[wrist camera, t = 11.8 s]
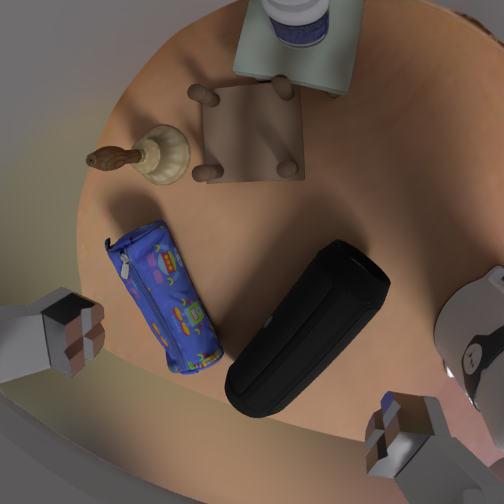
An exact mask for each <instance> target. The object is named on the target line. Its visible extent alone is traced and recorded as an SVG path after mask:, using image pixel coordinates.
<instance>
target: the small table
mask: <svg viewBox="0 0 504 504" xmlns="http://www.w3.org/2000/svg"><path fill="white" fill-rule="evenodd" d="M364 4H365V0H329V31H328V34H327V36H326V38H325V39H324V40H323V42H321V43H320V44H319V45H317V46H315V47H313V48H310V49H293V48H290V47H288V46H286V45H284V44H283V43H281V42H280V41H279V40H278V39H277V37H276V36H275V34H274V32H273V30H272V27H271V25H270V22H269V20H268V18H267V15H266V13H265V11H264V9H263V6H262V2H261V0H250V1H249V4H248V8H247V12H246V16H245V19H244V23H243V27H242V31H241V35H240V39H239V43H238V47H237V52H236V56H235V60H234V64H233V68H232V71H233V72H234V73H235V74H236V75H240V76H248V77H254V78H255V79H256V80H257V82H259V83H266V82H268V81H269V80H272V79H273V77H274V76H276V75H278V74H282V75H283V76H281V75H279V76H281V77H282V78H285V77H284V76H287V78H288V79H289V81H290V83H291V84H295V85H300V86H305V87H310V88H314V89H319V90H323V91H327V94H328V95H329V96H330V97H332V98H337V97H339V96H340V95H344V96H348V93H349V89H350V84H351V79H352V74H353V68H354V63H355V58H356V52H357V46H358V41H359V35H360V29H361V23H362V17H363V10H364ZM287 78H285V79H287Z"/></svg>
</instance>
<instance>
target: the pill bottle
mask: <svg viewBox="0 0 504 504" xmlns="http://www.w3.org/2000/svg"><path fill="white" fill-rule="evenodd" d="M261 2H262V6H263V9H264V11H265V13H266V15H267V18H268V20H269V22H270V25H271V27H272V30H273V32H274V34H275V36H276V37H277V39H278V40H279V41H280V42H281V43H283V44H284V45H286V46H288V47H290V48H293V49H310V48H313V47H315V46H317V45H319V44H320V43H321V42H323V40H324V39H325V38H326V36H327V34H328V31H329V0H261Z"/></svg>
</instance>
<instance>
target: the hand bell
mask: <svg viewBox="0 0 504 504" xmlns="http://www.w3.org/2000/svg"><path fill="white" fill-rule="evenodd" d="M189 161H190V148H189V144H188V141H187V139H186V137H185V136H184V135H183V134H182V133H181V132H180V131H179V130H178V129H176V128H174V127H171V126H158V127H155V128H153V129H151V130H150V131H148V132H147V133H146V134H145V135H144V136H143V138H142V139H140V140H138V141H137V142H135V144H134V145H133V146H132V148H131V150H124V149H122V148H120V147H116V146H106V147H102V148H100V149H98V150H96V151H95V152H93V153H91V154H89V155H88V156H87V159H86V163H87V165H88V166H90V167H94V168H96V169H99V170H102V171H111V170H115V169H118V168H120V167H122V166H123V165H125V164H128V163H131V165H132V167H133V168H134V169H135V170H136V171H138V172H140V173H142V175H143V176H144V177H145V178H146V179H147V180H148V181H150V182H151V183H154V184H157V185H168V184H171V183H173V182H175V181H177V180H178V179H179V178H180V177H181V176H182V175H183V174H184V173H185V171H186V169H187V167H188V164H189Z"/></svg>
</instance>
